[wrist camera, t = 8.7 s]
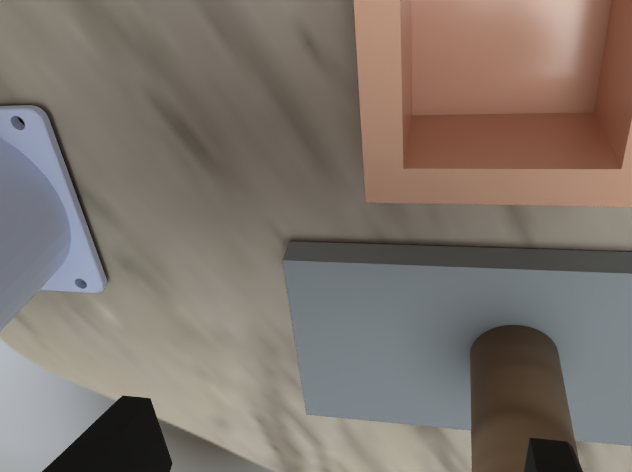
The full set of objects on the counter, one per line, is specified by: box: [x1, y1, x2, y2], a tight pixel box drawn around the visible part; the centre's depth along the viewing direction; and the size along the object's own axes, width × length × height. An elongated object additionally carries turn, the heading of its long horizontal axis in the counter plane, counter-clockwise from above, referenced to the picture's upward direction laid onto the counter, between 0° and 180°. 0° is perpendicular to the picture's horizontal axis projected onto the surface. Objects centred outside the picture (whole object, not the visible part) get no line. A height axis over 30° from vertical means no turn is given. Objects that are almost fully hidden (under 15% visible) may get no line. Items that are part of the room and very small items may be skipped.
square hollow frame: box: [354, 0, 632, 207], centre depth 14 cm, size 7×7×4 cm
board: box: [282, 241, 632, 446], centre depth 22 cm, size 16×8×1 cm, turn 96°
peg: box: [470, 325, 579, 472], centre depth 18 cm, size 3×3×8 cm
